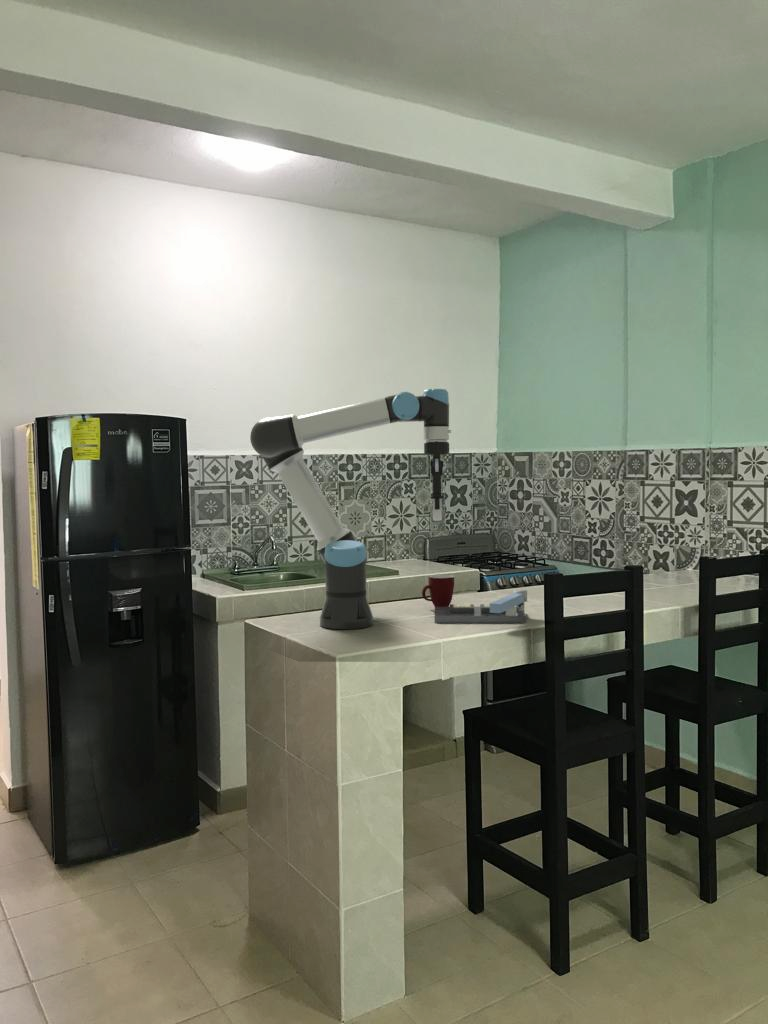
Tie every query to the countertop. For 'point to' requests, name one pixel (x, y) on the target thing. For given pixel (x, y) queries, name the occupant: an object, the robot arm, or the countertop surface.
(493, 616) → the server tray
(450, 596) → the mug
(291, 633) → the countertop surface
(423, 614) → the countertop surface
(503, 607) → the bar
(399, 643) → the countertop surface
